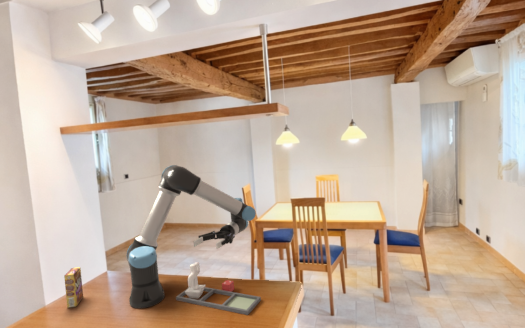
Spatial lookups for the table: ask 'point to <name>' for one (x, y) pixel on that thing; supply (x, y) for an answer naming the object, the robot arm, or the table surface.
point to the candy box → (73, 287)
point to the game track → (233, 304)
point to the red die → (228, 285)
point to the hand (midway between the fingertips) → (205, 245)
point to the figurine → (194, 282)
